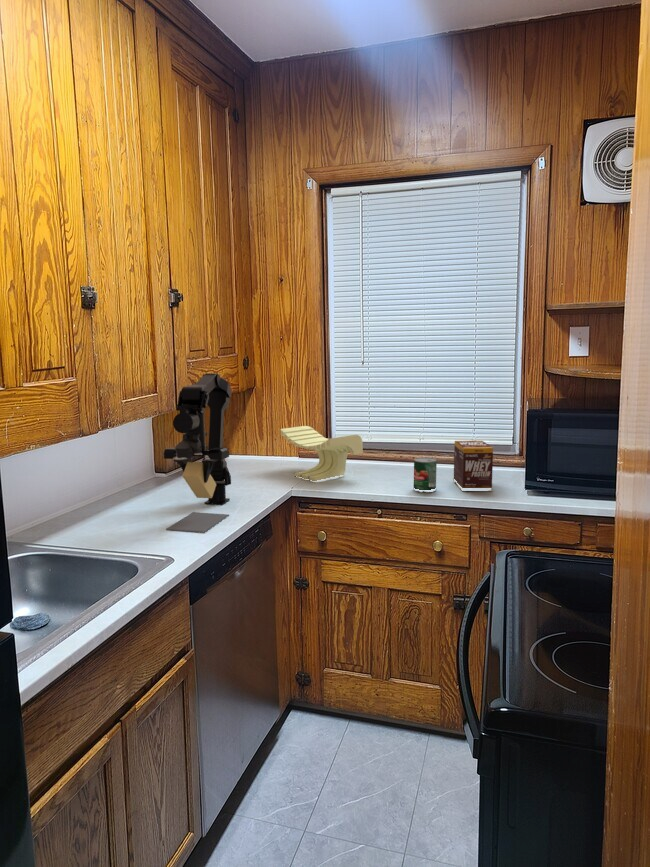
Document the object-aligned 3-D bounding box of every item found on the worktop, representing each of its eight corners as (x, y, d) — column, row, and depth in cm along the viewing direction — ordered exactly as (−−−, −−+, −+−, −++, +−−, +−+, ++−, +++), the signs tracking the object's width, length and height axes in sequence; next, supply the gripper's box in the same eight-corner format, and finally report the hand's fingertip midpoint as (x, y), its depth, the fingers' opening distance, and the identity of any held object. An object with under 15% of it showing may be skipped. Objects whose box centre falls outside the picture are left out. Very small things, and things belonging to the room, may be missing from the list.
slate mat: (193, 513, 195) (193, 512, 195) (229, 515, 192) (229, 514, 192) (166, 530, 178) (166, 528, 178) (204, 533, 175) (204, 531, 175)
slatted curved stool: (362, 480, 236) (362, 433, 233) (330, 487, 226) (329, 438, 223) (312, 467, 259) (312, 424, 256) (281, 473, 248) (280, 429, 246)
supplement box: (462, 492, 217) (463, 448, 215) (453, 481, 233) (454, 440, 230) (492, 491, 217) (493, 447, 215) (481, 481, 233) (482, 440, 230)
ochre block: (201, 484, 193) (187, 461, 184) (216, 484, 191) (203, 462, 183) (196, 497, 190) (182, 475, 181) (211, 498, 188) (197, 476, 180)
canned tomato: (410, 491, 219) (410, 460, 217) (417, 486, 226) (417, 456, 224) (432, 494, 215) (433, 462, 213) (438, 488, 222) (439, 458, 220)
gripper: (151, 432, 178) (154, 486, 179) (211, 432, 173) (214, 488, 174) (171, 428, 188) (174, 479, 190) (228, 428, 183) (230, 481, 185)
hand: (197, 482), depth 185 cm, fingers closed on ochre block, 5 cm apart
